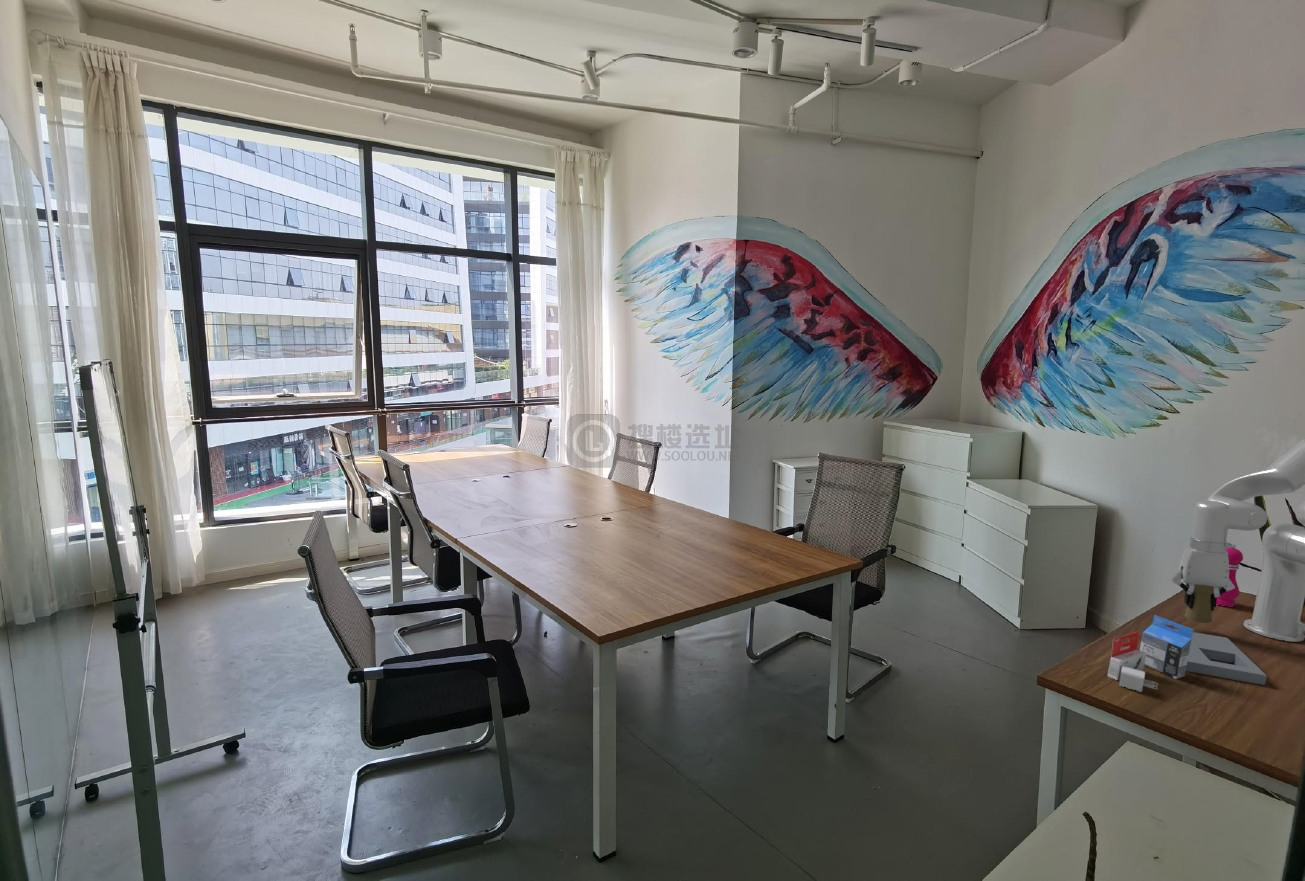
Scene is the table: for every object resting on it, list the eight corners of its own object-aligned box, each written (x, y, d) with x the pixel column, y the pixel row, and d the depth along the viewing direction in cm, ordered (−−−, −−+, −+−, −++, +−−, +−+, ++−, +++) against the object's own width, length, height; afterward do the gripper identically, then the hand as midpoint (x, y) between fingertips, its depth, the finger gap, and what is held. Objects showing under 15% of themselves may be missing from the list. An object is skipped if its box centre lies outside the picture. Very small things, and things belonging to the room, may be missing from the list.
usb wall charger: (1120, 680, 154) (1122, 664, 154) (1156, 691, 150) (1159, 675, 149) (1118, 686, 151) (1121, 670, 151) (1155, 697, 147) (1158, 681, 146)
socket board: (1225, 646, 174) (1226, 637, 174) (1264, 685, 154) (1266, 675, 154) (1153, 634, 180) (1154, 625, 180) (1182, 670, 160) (1184, 660, 160)
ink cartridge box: (1143, 672, 159) (1149, 635, 157) (1117, 681, 154) (1123, 643, 152) (1132, 667, 161) (1138, 630, 159) (1106, 676, 156) (1112, 638, 154)
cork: (1178, 614, 186) (1183, 577, 184) (1198, 613, 186) (1202, 576, 184) (1198, 623, 180) (1202, 585, 178) (1218, 622, 180) (1223, 584, 178)
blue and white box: (1136, 662, 163) (1144, 616, 161) (1145, 660, 165) (1153, 614, 163) (1176, 679, 155) (1184, 631, 153) (1185, 677, 157) (1194, 629, 155)
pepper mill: (1242, 609, 200) (1254, 547, 197) (1215, 607, 202) (1226, 545, 199) (1227, 600, 207) (1238, 540, 204) (1201, 598, 209) (1211, 538, 206)
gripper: (1239, 544, 180) (1231, 607, 183) (1165, 538, 186) (1158, 598, 189) (1252, 553, 173) (1243, 617, 176) (1175, 546, 179) (1167, 608, 182)
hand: (1199, 607), depth 182 cm, fingers closed on cork, 4 cm apart
